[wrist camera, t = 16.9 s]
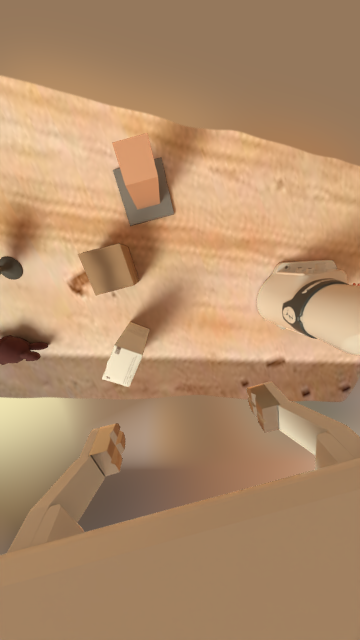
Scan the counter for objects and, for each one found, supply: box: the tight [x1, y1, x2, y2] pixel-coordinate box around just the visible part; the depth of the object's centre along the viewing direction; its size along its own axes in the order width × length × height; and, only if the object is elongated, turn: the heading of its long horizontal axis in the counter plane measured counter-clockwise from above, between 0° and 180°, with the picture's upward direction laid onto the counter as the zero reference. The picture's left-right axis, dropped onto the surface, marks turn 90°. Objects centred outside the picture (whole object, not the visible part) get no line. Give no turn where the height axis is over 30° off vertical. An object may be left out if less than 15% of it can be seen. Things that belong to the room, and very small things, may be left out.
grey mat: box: [113, 158, 174, 226], centre depth 35 cm, size 10×10×1 cm
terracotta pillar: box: [112, 133, 160, 210], centre depth 29 cm, size 5×5×12 cm
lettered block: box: [78, 243, 139, 295], centre depth 36 cm, size 8×8×8 cm
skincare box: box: [102, 322, 150, 387], centre depth 39 cm, size 8×6×15 cm
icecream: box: [0, 335, 48, 365], centre depth 41 cm, size 7×7×15 cm
